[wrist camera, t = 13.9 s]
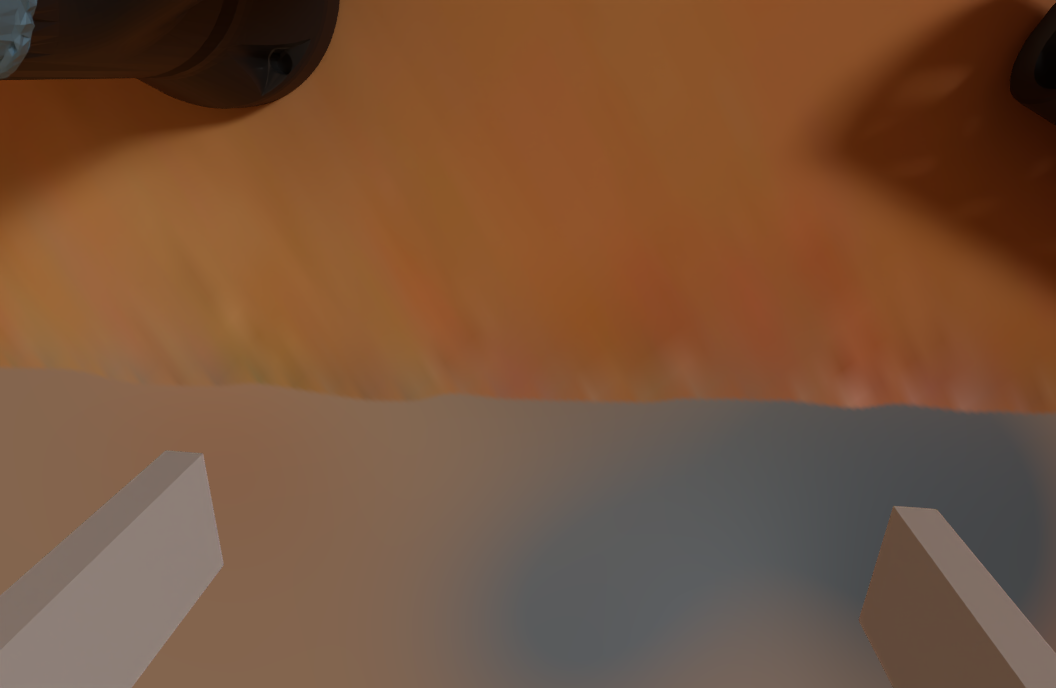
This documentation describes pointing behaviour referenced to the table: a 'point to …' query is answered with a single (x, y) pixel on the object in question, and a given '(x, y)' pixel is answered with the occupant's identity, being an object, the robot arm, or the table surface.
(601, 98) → the table surface
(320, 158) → the table surface
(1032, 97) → the muzzle brake
